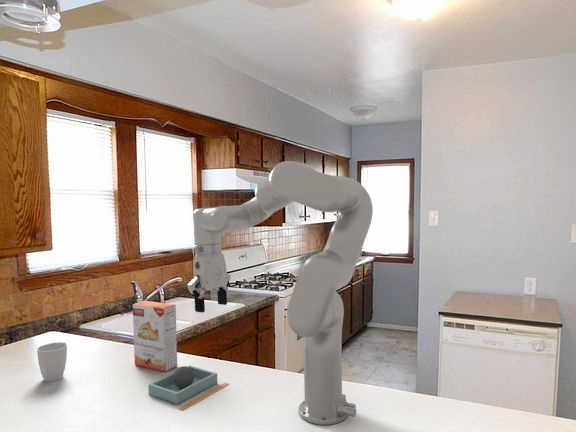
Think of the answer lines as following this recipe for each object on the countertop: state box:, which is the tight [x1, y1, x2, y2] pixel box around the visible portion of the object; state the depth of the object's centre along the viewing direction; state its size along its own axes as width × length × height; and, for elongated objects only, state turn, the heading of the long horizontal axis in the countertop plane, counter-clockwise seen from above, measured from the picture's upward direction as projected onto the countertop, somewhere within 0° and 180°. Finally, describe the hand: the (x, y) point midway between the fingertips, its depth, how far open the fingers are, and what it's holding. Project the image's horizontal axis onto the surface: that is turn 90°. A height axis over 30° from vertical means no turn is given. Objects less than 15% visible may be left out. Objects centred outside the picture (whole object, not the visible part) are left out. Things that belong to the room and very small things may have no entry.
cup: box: [36, 341, 68, 383], centre depth 130 cm, size 8×8×10 cm
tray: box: [147, 365, 230, 411], centre depth 120 cm, size 15×18×3 cm
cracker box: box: [132, 300, 178, 373], centre depth 138 cm, size 14×6×21 cm, turn 62°
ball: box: [173, 365, 194, 388], centre depth 121 cm, size 6×6×6 cm
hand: (211, 308), depth 123 cm, fingers open, 9 cm apart
